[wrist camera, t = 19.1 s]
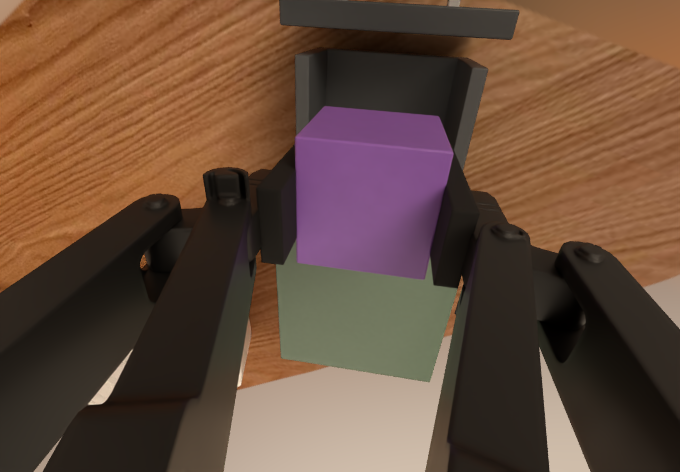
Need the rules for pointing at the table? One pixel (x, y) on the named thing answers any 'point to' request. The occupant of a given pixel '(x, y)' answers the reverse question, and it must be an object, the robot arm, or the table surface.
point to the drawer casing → (361, 319)
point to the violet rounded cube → (370, 190)
